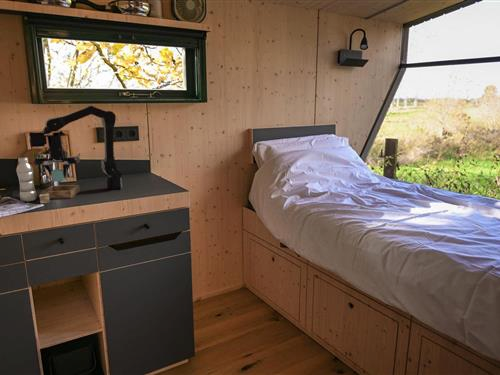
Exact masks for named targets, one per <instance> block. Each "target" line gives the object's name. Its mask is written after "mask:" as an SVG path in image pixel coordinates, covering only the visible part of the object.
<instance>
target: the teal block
mask: <svg viewBox="0 0 500 375" xmlns="http://www.w3.org/2000/svg"><path fill="white" fill-rule="evenodd" d="M50 176H52V177H51V182H52V183H53V182H65V181H66V180H68V177H66V178H65V177H64V171H63V168H62V169H61V168H59V169H53V171H51V175H50Z"/></svg>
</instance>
